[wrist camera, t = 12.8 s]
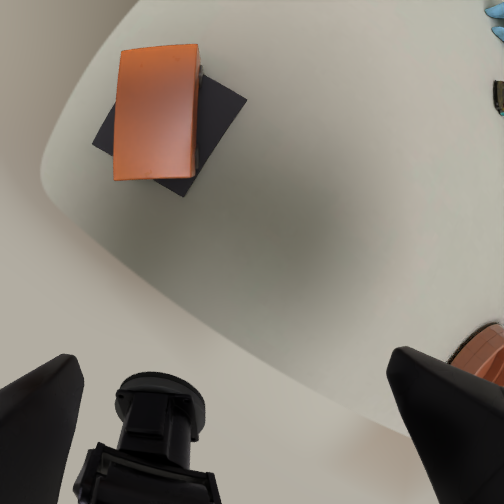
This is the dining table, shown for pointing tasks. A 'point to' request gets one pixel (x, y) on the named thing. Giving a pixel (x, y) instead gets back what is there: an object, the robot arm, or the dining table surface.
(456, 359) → the bowl
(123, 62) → the orange block
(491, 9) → the chair
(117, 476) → the robot arm
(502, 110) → the race car
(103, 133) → the mat
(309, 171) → the dining table surface
